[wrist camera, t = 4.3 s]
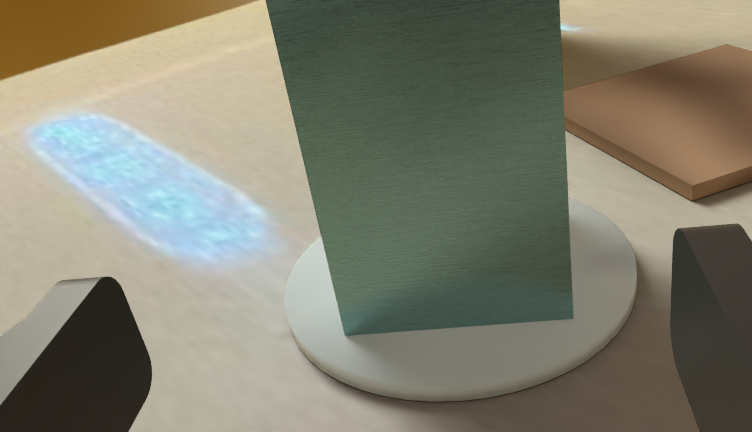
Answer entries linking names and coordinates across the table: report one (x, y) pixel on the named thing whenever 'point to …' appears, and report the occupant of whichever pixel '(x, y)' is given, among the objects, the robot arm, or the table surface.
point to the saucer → (471, 328)
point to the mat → (674, 120)
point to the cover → (433, 157)
